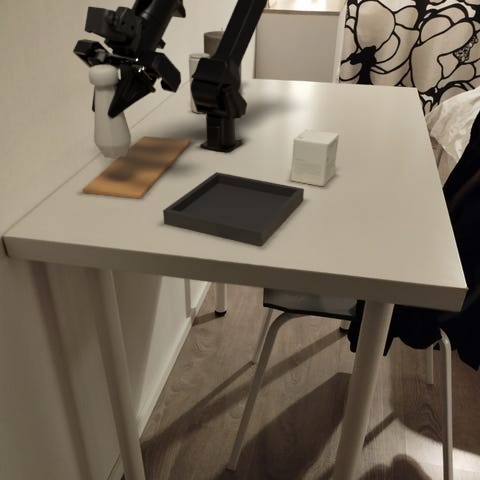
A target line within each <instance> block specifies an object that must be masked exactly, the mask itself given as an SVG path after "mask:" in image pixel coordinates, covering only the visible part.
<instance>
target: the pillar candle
mask: <svg viewBox="0 0 480 480" xmlns="http://www.w3.org/2000/svg"><path fill="white" fill-rule="evenodd" d="M224 31H225V30H223V27H221V29H220V30H217V31H216V30H215V31H214V30H213V31H208V32H207V31H206V32H204V33H203V53H206V54H209V55H210V56H209V57H210V58H211V57H212V56H213V55H214V54H215V52H216V50H217V48H218V45H219V43H220V41H221V38H222V36H223V34H224ZM239 73H240V82H241V83H242V63H241V64H240V66H239ZM239 93H240V94H241V93H242V84H241V85H240V88H239Z"/></svg>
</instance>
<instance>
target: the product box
mask: <svg viewBox="0 0 480 480" xmlns="http://www.w3.org/2000/svg"><path fill="white" fill-rule="evenodd" d="M339 136H340V134H339V133H338V132H331V131H324V130H323V131H322V130H316V129H305V130H303V132H300V133H299V134H298V135H297V136H296V137H294V138H293V144H292V146H293V149H292V161H291V173H290V181H292V182H297V183H301V184H308V185H312V186H313V185H314V186H318V187H324V186H326V184H327V183H328V182H329V181H330V180H331V179H332V178H333V177H334V176H335V170H336V161H337V152H338V144H339Z"/></svg>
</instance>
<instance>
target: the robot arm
mask: <svg viewBox="0 0 480 480" xmlns="http://www.w3.org/2000/svg"><path fill="white" fill-rule="evenodd" d="M268 1H269V0H237V1H236V3H235V6H234V7H233V10H232V13H231V15H230V18H229V20H228V22H227V25H226V27H225V28H224V30H223V31H224V34H223V36H222V38H221V41H220V43H219V45H218V48H217V50H216V52H215V54H214V55H213V56H212V57H211V58H205V57H201V58H200V60H199V61H198V64H197V68H196V70H195V72H194V74H193V75H192V76H191V78H193V80H192V83H191V88H190V87H189V88H190V89H189V91H190V90H191V93H192V97H193V100H194V103H195V107H196V110H197V112H202V113H201V114H205V132H206V134H205V135H206V140H205V141H203V142H202V143H201V144H200V145H199V147H200V148H202V149H208V150H212V151H218V152H226V153H230V152H231V151H233V150H234V149H235V148H237V147H238V146H240V145H242V144H243V140H242V139H237V131H236V130H237V120H238V119H242V117H243V116H246V112H247V108H248V102H247V101H246V99H245V98H244V97H243V95H242V94H241V93H239V88H240V85H241V86H242V81H241V82H240V73H239V66H240V64H241V65H242V62H243V59H244V58H245V57H244V56H245V54H246V52H247V50H248V47H249V45H250V42H251V40H252V38H253V36H254V34H255V32H256V29H257V26H258V24H259V21H260V19H261V17H262V15H263V13H264V10H265V8H266V6H267V3H268ZM173 18H181V19H185V18H187V12H186V8H185V5H184V0H135V1H134V3H133V5H132V7H131V8H130V7H128V6H118V7H117V8H116V10H113V9H108V8H104V7H99V6H98V7H96V6H87V11H86V17H85V25H84V32H86V33H88V34H94V35H96V36H98V37H100V38H103V39H104V40H103V44H104V45H105V46H106V47H107V48H109V49H111V50H112V51H111V52H110V51H108V50H107V48H106V47H104V45H103V44H102V43H100V41H97V40H92V39H86V38H84V39H83V38H82V39H78V40H77V42H76V44H75V46H74V47H73V50H72V53H73V54H74V55H75V56H76V57H77V58H78V59H80V61H82V62H83V63H84V64H85V65H86V66H87V67H88V68H89V69H90V68H91V67H93V66H96V65H111V66H114V67H115V68H116V69H117V71H118V72H120V73H119V74H120V76H119V77H120V78H119V79H118V83H116V87H117V89H116V92H115V94H114V97H113V99H112V101H111V104H110V107H109V110H108V113H107V115H108V116H109V117H111V118H115V117H116V116H117V115H119V114H120V113H121V112H123V111H124V112H125V111H126V110H127V109H129V108H130V107H132V106H133V105H134V104H135V103H137V102H138V101H140V100H142V99H143V98H145V97H147V96H148V95H150V94H152V93H153V94H155V93H156V92H157V88H155V87H154V86H155V84H156V82H157V81H158V80H160V79H161V80H160V82H159V84H160V87H161V89H162V90H163V91H164V92H165V91H166V92H171V93H175V94H176V93H177V92H178V89H179V88H180V85H181V83H182V73H181V71H180V70H179V69H178V68H177V67H176V66H175V64H174V63H173V62H172V60H170V58H169V57H168V55H166V53H165V52H160V51H157V49H158V50H164V49H165V47H166V45H167V42H165V40H164V39H163V37H164V35H165V33H166V31H167V29H168V27H169V25H170V23H171V20H173ZM93 86H94V87H93V96H92V103H91V111H92V112H93V113H94V114H95V85H93Z"/></svg>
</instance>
